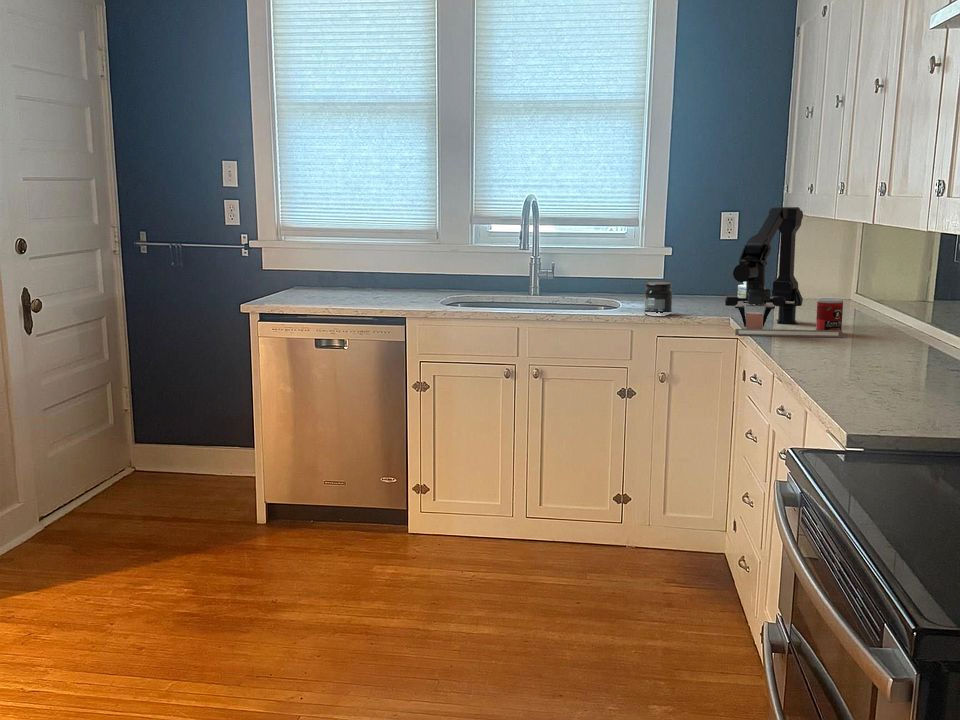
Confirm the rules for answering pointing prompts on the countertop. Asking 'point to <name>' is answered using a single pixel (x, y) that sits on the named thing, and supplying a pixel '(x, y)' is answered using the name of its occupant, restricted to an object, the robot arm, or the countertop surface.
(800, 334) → the price rail
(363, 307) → the countertop surface
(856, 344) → the countertop surface
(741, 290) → the container
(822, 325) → the canned food
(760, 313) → the salmon pink block
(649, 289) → the supplement container
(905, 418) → the countertop surface
